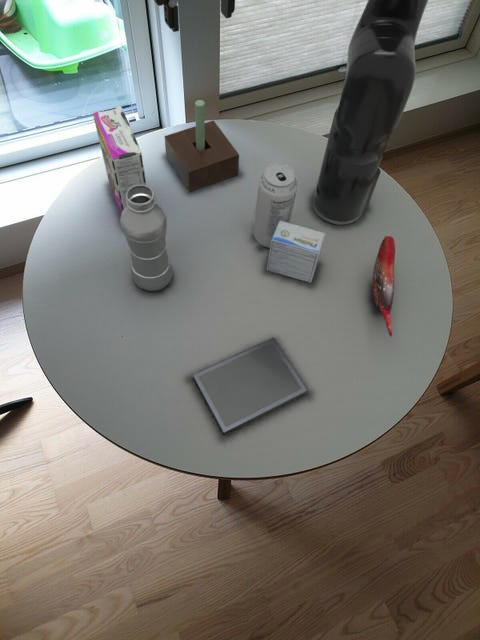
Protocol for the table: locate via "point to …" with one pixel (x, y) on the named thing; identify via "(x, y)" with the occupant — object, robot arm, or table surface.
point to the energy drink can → (274, 201)
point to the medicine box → (295, 251)
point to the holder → (202, 157)
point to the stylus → (200, 125)
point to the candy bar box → (119, 153)
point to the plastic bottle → (146, 239)
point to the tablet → (249, 385)
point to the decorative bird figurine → (384, 279)
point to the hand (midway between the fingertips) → (200, 21)
